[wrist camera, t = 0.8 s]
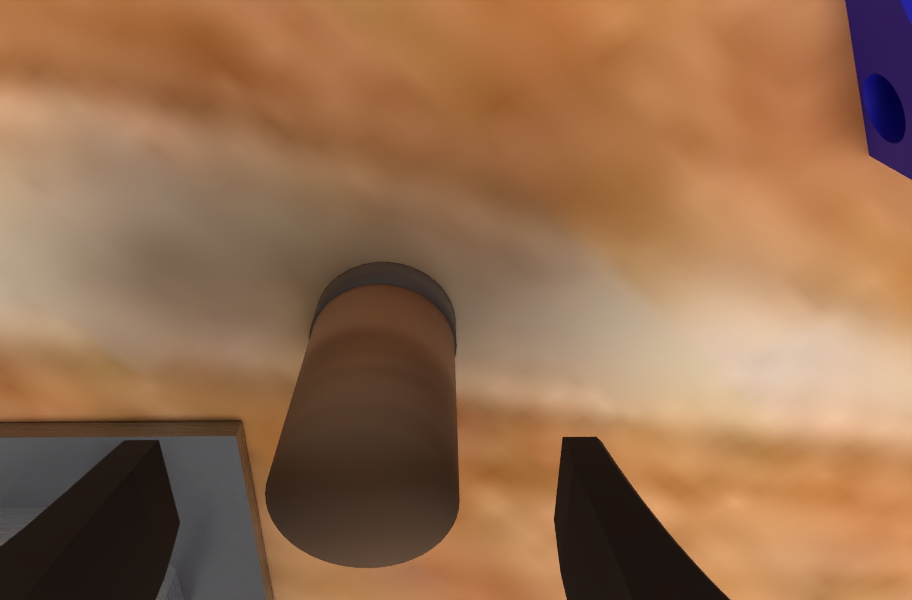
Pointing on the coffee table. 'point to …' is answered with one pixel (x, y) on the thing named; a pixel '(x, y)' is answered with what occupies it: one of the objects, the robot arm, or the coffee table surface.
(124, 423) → the cup bracket
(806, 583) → the coffee table surface
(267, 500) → the dowel
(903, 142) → the cable clip
